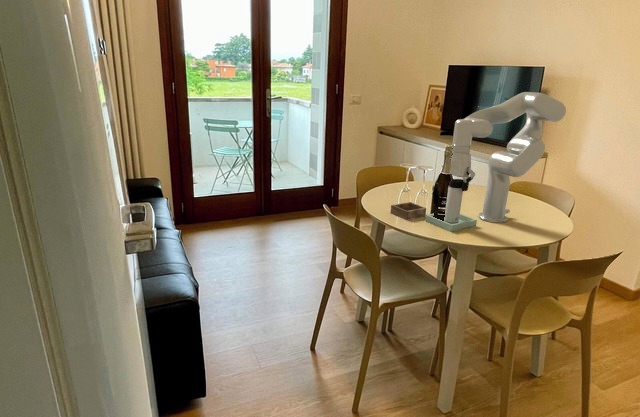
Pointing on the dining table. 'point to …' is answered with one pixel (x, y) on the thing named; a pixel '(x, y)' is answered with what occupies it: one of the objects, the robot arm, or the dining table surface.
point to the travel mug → (454, 201)
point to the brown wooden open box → (408, 210)
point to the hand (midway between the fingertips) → (455, 188)
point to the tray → (462, 224)
